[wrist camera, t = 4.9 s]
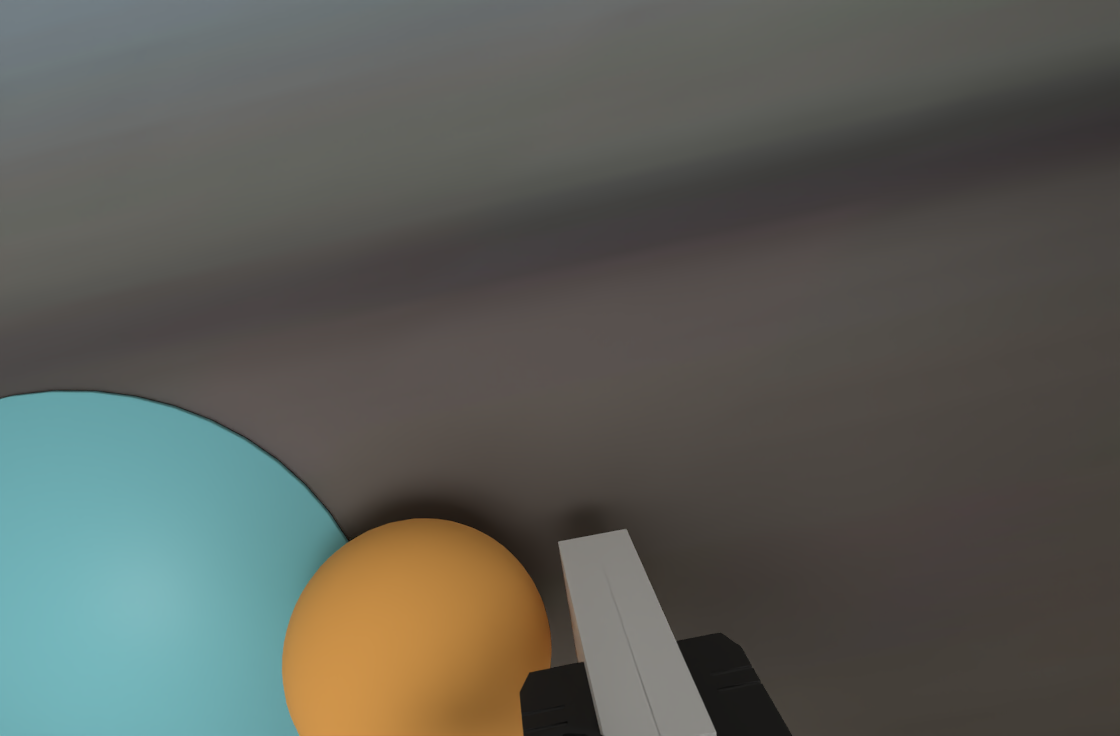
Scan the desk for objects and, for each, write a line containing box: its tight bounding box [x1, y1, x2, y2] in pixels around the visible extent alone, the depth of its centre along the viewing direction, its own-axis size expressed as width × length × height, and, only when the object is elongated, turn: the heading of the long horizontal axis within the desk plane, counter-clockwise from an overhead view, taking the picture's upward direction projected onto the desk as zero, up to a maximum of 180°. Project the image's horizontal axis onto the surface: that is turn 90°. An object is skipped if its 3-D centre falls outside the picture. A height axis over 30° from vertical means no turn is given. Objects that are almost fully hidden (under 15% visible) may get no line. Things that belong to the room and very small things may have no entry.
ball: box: [282, 518, 551, 736], centre depth 17 cm, size 6×6×6 cm
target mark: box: [0, 391, 349, 736], centre depth 19 cm, size 13×13×1 cm
